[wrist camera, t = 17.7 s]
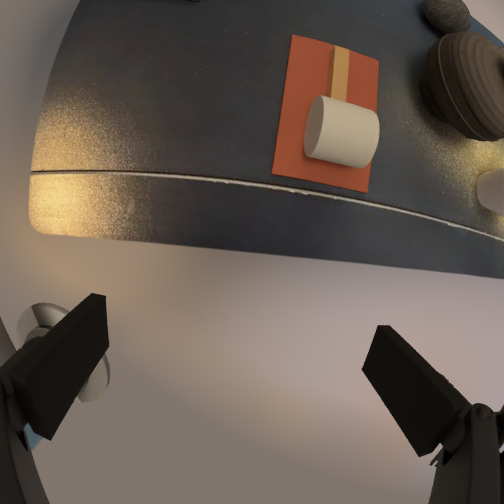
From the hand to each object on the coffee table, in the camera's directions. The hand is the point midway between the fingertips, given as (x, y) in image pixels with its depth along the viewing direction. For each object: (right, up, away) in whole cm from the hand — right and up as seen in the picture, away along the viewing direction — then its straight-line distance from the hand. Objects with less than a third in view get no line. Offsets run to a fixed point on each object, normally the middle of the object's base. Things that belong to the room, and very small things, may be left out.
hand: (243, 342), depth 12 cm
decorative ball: (+36, +50, +19) cm, 64 cm away
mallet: (+12, +24, +22) cm, 35 cm away
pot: (+33, +31, +23) cm, 51 cm away
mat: (+11, +24, +23) cm, 35 cm away
